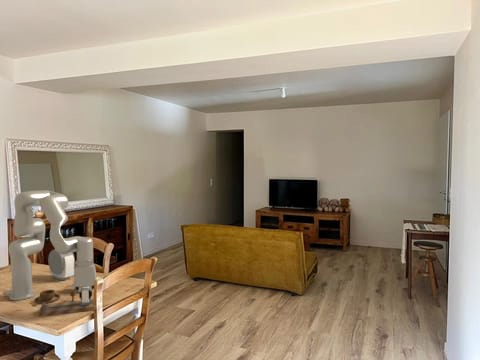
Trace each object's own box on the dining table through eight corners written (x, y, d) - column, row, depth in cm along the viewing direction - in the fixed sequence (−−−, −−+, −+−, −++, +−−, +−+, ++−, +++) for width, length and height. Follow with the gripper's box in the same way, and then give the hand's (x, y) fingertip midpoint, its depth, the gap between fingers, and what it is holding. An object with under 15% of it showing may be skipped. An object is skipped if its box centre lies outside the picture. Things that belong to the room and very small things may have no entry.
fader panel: (39, 316, 166) (39, 309, 166) (44, 308, 176) (43, 301, 175) (97, 309, 174) (97, 302, 174) (99, 302, 184) (99, 295, 183)
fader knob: (80, 305, 173) (80, 291, 173) (82, 300, 180) (82, 286, 179) (89, 304, 174) (89, 290, 174) (90, 299, 181) (90, 286, 181)
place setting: (58, 293, 198) (58, 283, 198) (78, 301, 187) (77, 290, 186) (25, 303, 183) (24, 292, 183) (44, 312, 172) (44, 301, 172)
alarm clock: (76, 278, 222) (75, 247, 221) (63, 282, 215) (63, 250, 214) (59, 274, 231) (59, 244, 231) (47, 277, 224) (46, 246, 223)
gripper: (66, 266, 170) (66, 303, 171) (102, 263, 175) (102, 299, 176) (68, 262, 177) (69, 297, 178) (103, 259, 182) (103, 294, 183)
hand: (85, 298), depth 177 cm, fingers closed on fader knob, 3 cm apart
